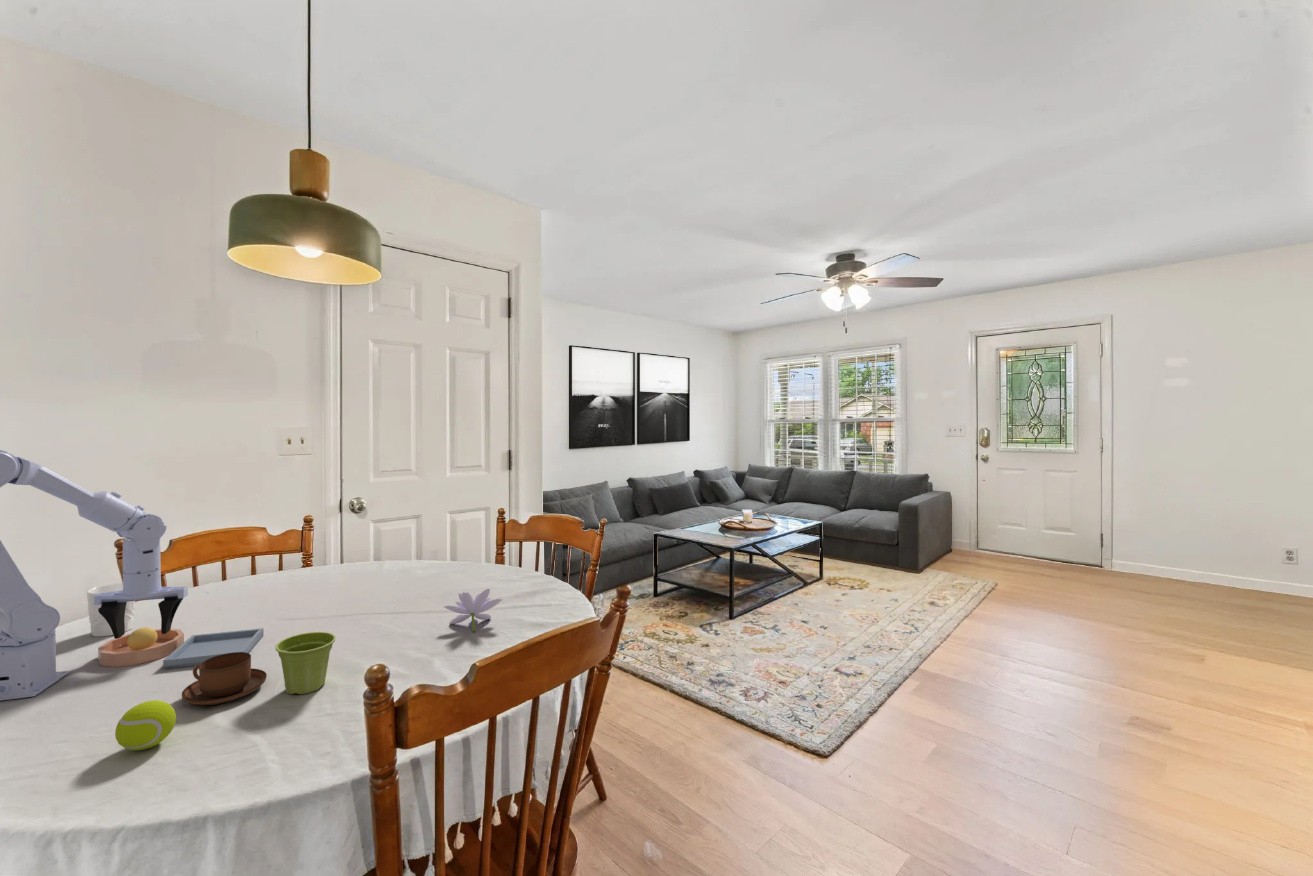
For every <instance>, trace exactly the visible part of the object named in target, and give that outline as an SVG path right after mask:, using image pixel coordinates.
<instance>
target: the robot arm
mask: <svg viewBox="0 0 1313 876" xmlns="http://www.w3.org/2000/svg"><path fill="white" fill-rule="evenodd" d="M7 484H12V485H17V486H18V485H19V486H30V487H33V488H34V489H36V490H40V491H42V492H44V493H47V494H49V495H51V496H54V497H56V498H58V499H60V500H63V501H65V502H67V503H69V504H71V505H74V506H76V507H77V512H78V516H80V517H82V518H83V519H85V520H87V521H90V522H92V523H94V524H96V525H99V526H100V527H103V528H105V529H108V530H109V531H111V532H115V533H116V535H118V537H120V538H122V583H123V590H122V591H115V592H107V593H99V594H97V595H95V596H94V605H101V604H102V606H101V607H100V608H99V609H98V612H99V613H100V614H101V615H102V616H103V617H104V618H105V620H106V621H107V622H108V624H109V626H110V628H111V630H112V632H113V635H112V636H113V639H117V638H120V637H121V636H124V635H125V622H124V616H125V608H126V603H127V602H129V601H135V602H140V601H142V602H143V601H149V600H151V601H153V600H161V601H160V602H158V603H157V604H158V609H159V612H160V613H159V614H160V618H161V621H160V627H161V628H160V629H161V632H162V634H166V633H167V632H169V631H170V629H172V625H173V620H174V618H175V615H176V612H177V611H178V608H179V607H180V604H181V603H182V601H183V600H184V598H186V597H187V596H188V595H189V590H188V589H189V588H188V586H162V576H161V575H162V573H161V572H162V571H161V570H162V569H161V562H162V561H161V560H162V558H161V556H162V555H161V538H162V537H163V535H164V534H165V533H166V531H167V525H165V522H164V521H163V519H162V518H161V517H160V516H158V515H156V514H152V513H147V512H145V507H143V506H141V505H137V506H136V505H133V504H131V503H130V502H127V501H126V500H124V499H121V497H122V495H121V494H120V493H118V492H116V491H115V492H114V491H112V492H110V493H109V492H108V491H106V490H105V491H104V490H103V491H97V492H92V491H89V490H87V489H85V488H84V487H83V486H80V485H79V484H77V483H74V482H73V481H71V480H69V479H67V478H65V476H62V475H60V474H58V473H56V472H54V471H52V470H50V469H49V468H47V467H46V466H44V465H41V464H39V463H36V462H34V461H31V460H29V459H26V458H24V457H20V456H15V455H14V454H12V453H11V452H8V451H6V450H3V449H0V488H2V487H4V486H5V485H7ZM60 621H61V615H60V612H59V610H58V609H57V608H55V607H53V606H51V605H48V604H47V603H45V602H44V601H43V600H42V598H41V597H40V595H38V593H37V592H36V591H35V590H34V589H33V588H32V587H31V586H30V585H29V584H28V582H27V580H26V579H25V577H24V575H23V573H21V570H20V569H19V568H18V566H17V565H16V562H15V561H14V560H13V558H12V556H11V555H10V554H9V552H8V550H7V549H6V547H5V545H4V544H3V542H2V540H0V701H8V700H15V699H24V698H30V697H31V698H32V697H35V696H37V695H38V694H40V693H41V692H43V691H44V690H46V689H48V688H49V687H50V686H52V685H54V684H55V683H56V682H57V681H60V680H61V679H62V678H63V677H65V676H66V675H68V674H69V672H70V671H69V670H60V671H57V654H56V653H57V651H56V649H57V645H56V642H57V641H56V639H57V638H56V637H57V636H56V629H57V627H58V626H59V624H60Z"/></svg>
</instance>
